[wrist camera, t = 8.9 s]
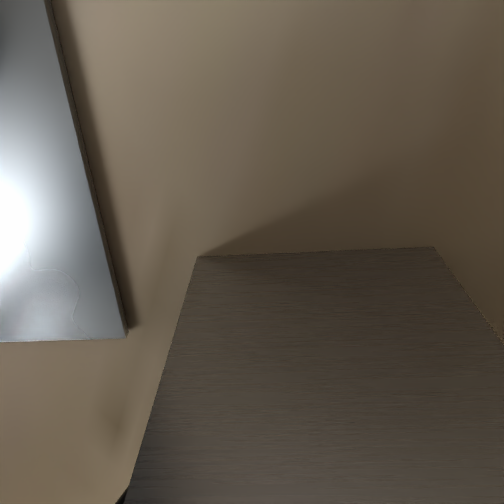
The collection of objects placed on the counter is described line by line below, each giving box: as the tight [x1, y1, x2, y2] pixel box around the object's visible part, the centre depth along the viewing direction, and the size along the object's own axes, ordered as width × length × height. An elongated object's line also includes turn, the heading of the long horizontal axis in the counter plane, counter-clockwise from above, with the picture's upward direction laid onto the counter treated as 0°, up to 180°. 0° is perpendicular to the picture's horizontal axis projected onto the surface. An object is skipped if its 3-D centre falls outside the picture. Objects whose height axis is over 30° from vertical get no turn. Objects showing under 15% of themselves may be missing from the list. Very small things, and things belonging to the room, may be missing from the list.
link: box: [124, 247, 504, 504], centre depth 7 cm, size 6×4×5 cm, turn 4°
